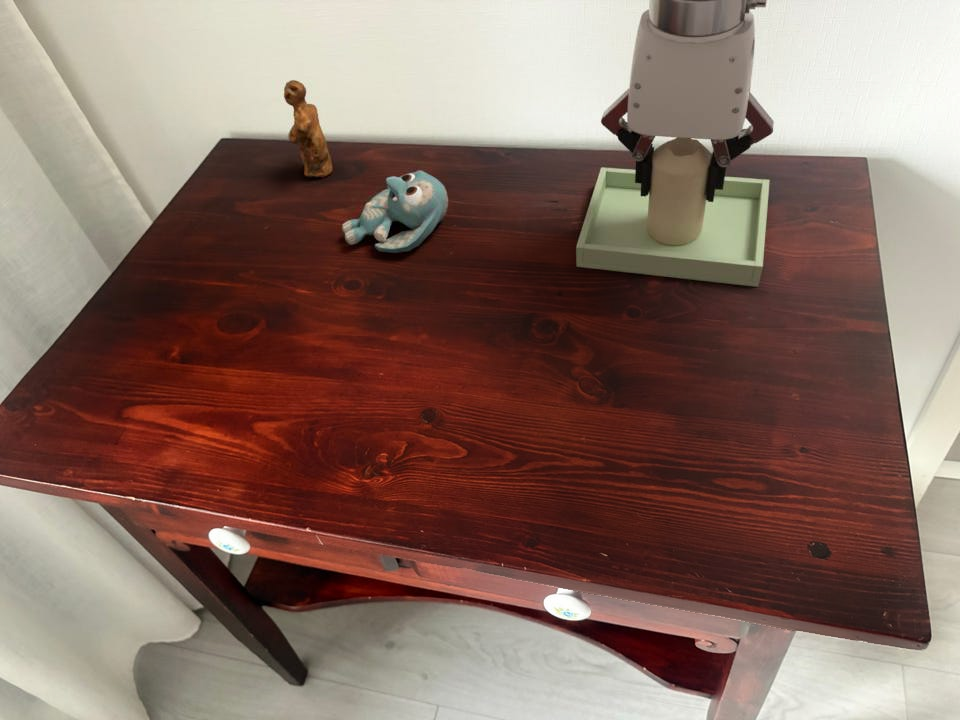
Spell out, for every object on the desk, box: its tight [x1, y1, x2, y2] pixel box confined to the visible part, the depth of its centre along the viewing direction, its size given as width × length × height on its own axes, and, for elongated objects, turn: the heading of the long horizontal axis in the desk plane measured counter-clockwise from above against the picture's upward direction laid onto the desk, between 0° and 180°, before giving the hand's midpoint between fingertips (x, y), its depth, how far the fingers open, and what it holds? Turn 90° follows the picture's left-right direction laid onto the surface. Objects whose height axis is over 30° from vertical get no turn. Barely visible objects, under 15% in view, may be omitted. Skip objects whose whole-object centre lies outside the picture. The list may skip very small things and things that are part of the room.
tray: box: [575, 167, 771, 288], centre depth 76 cm, size 17×13×3 cm
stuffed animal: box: [341, 169, 449, 254], centre depth 80 cm, size 11×7×12 cm
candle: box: [647, 137, 712, 245], centre depth 73 cm, size 6×6×10 cm
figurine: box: [283, 79, 334, 179], centre depth 87 cm, size 5×6×12 cm
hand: (678, 189), depth 73 cm, fingers closed on candle, 5 cm apart
